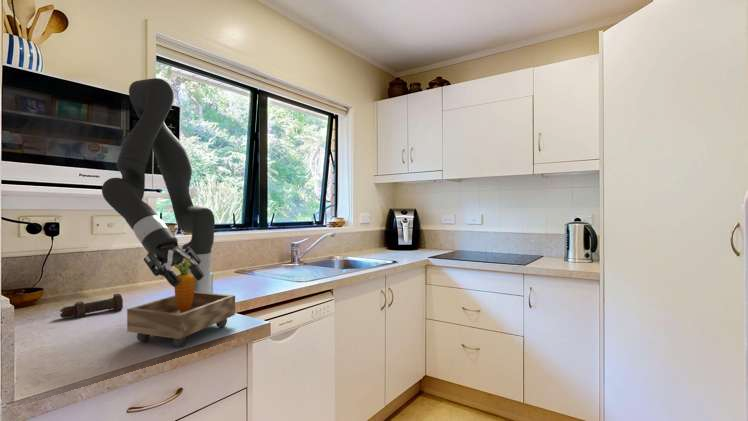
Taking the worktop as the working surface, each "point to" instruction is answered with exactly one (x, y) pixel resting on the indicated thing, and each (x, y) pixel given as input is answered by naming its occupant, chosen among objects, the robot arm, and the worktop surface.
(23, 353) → the worktop surface
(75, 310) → the bolt
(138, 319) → the caster cart
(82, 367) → the worktop surface
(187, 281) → the carrot
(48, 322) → the worktop surface
